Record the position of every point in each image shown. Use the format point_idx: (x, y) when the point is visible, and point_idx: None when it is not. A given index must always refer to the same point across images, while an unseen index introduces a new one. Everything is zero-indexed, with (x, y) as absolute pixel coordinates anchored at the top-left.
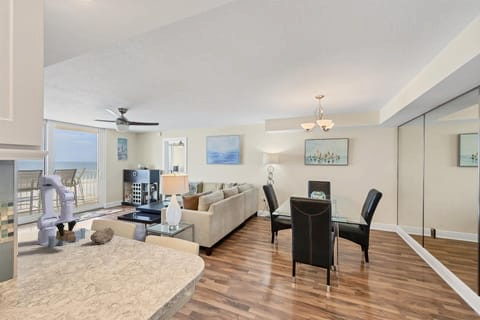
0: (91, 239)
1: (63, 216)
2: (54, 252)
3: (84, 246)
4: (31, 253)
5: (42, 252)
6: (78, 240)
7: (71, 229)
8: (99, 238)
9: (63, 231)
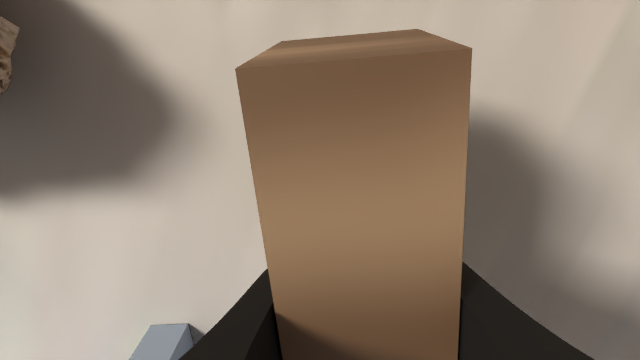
0: (3, 48)
1: None
2: (482, 156)
3: (155, 63)
4: (614, 332)
5: (546, 273)
6: (149, 333)
7: (242, 332)
8: None
9: (476, 322)
